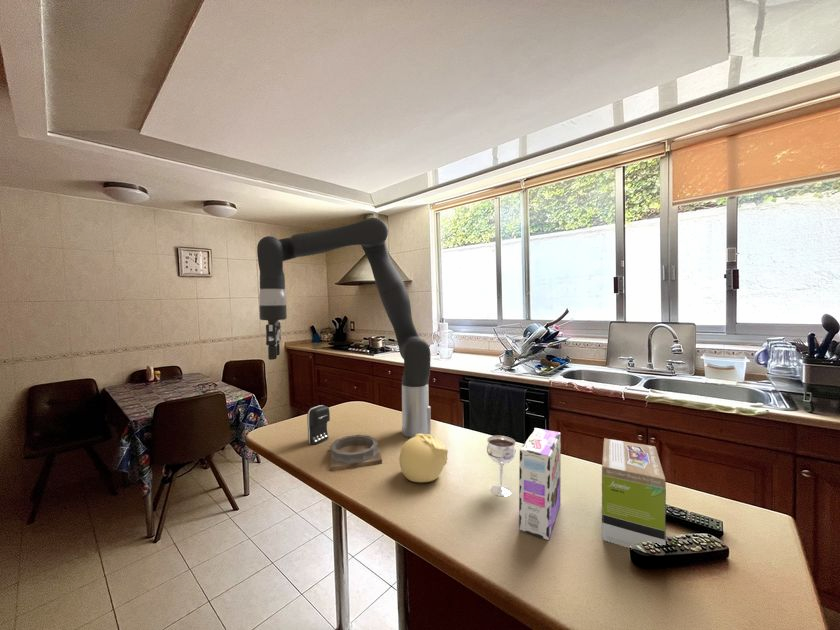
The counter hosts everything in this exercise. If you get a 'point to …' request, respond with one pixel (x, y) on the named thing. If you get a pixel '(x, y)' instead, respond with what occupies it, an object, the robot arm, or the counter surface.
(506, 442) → the wineglass
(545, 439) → the candy box
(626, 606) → the counter surface
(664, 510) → the tea box
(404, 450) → the sculpture
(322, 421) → the battery charger
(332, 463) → the ring collar
